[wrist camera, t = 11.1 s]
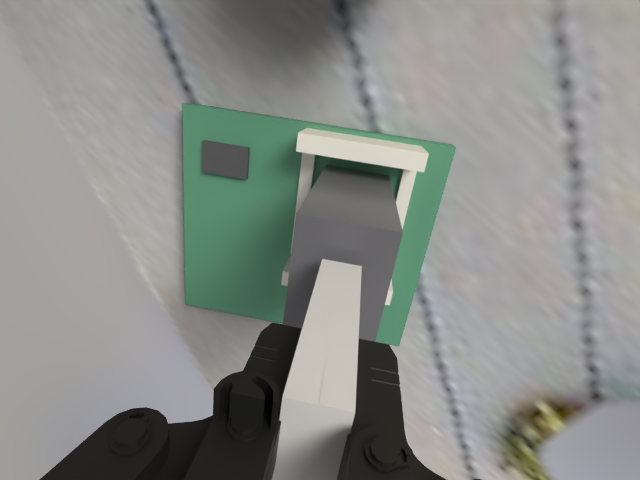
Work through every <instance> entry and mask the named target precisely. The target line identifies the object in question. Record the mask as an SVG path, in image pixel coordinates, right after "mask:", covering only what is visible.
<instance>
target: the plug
mask: <svg viewBox="0 0 640 480" xmlns="http://www.w3.org/2000/svg"><path fill="white" fill-rule="evenodd" d="M402 235H403V230H402V226H401V222H400V218H399V214H398V210H397V206H396V202H395V198H394V194H393V190H392V185H391V181H390V177H389V175H383V174H378V173H372V172H366V171H360V170H354V169H348V168H342V167H336V166H330V165H326V166H325V168H324V169H323V171H322V173H321V174H320V176H319V177H318V179H317V181H316V182H315V184H314V186H313V187H312V189H311V190H310V192H309V194H308V195H307V197H306V199H305V200H304V202H303V203H302V205H301V207H300V208H299V210H298V211H297V213H296V219H295V227H294V236H293V244H292V252H291V260H290V269H289V277H288V285H287V293H286V301H285V310H284V318H283V325H287V326H292V327H297V328H302V327H303V324H304V320H305V317H306V313H307V310H308V306H309V303H310V299H311V296H312V292H313V289H314V286H315V282H316V279H317V275H318V272H319V268H320V265H321V261H322V259H326V260H331V261H337V262H342V263H348V264H353V265H359V266H362V273H361V296H360V319H359V339H363V340H368V341H374V342H375V341H376V337H377V333H378V329H379V325H380V321H381V317H382V313H383V309H384V306H385V302H386V298H387V294H388V290H389V286H390V282H391V278H392V274H393V270H394V266H395V262H396V259H397V255H398V251H399V247H400V243H401V239H402Z"/></svg>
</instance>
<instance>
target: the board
mask: <svg viewBox="0 0 640 480" xmlns="http://www.w3.org/2000/svg"><path fill="white" fill-rule="evenodd" d="M182 118H183V183H184V249H185V304H187V305H192V306H197V307H202V308H207V309H212V310H217V311H222V312H227V313H232V314H237V315H242V316H247V317H252V318H257V319H262V320H268V321H273V322H278V323H283V318H284V310H285V301H286V293H287V285H288V277H289V269H290V260H291V252H292V244H293V236H294V227H295V219H296V213H297V211H298V210H299V208H300V207H301V205H302V203H303V202H304V200H305V199H306V197H307V195H308V194H309V192H310V190H311V189H312V187H313V186H314V184H315V182H316V181H317V179H318V177H319V176H320V174H321V173H322V171H323V169H324V168H325V166H326V165H330V166H336V167H342V168H348V169H354V170H360V171H366V172H372V173H378V174H383V175H389V177H390V181H391V185H392V190H393V194H394V198H395V202H396V206H397V210H398V214H399V218H400V222H401V226H402V230H403V235H402V239H401V243H400V247H399V251H398V255H397V259H396V262H395V266H394V270H393V274H392V278H391V282H390V286H389V290H388V294H387V298H386V302H385V306H384V309H383V313H382V317H381V321H380V325H379V329H378V333H377V337H376V341H375V342H379V343H384V344H389V345H394V346H399V344H400V341H401V337H402V334H403V330H404V327H405V323H406V320H407V316H408V313H409V309H410V306H411V302H412V299H413V295H414V292H415V288H416V285H417V281H418V278H419V274H420V271H421V267H422V264H423V260H424V257H425V253H426V250H427V246H428V243H429V240H430V236H431V233H432V229H433V226H434V222H435V219H436V215H437V212H438V208H439V205H440V201H441V198H442V194H443V191H444V187H445V184H446V180H447V177H448V173H449V170H450V166H451V163H452V159H453V156H454V152H455V149H456V147H455V146H453V145H451V144H445V143H439V142H433V141H426V140H420V139H414V138H407V137H401V136H395V135H388V134H382V133H376V132H370V131H363V130H357V129H351V128H344V127H338V126H332V125H325V124H319V123H313V122H306V121H300V120H294V119H288V118H281V117H275V116H269V115H262V114H256V113H250V112H243V111H237V110H231V109H225V108H218V107H212V106H206V105H199V104H193V103H185V104H182Z"/></svg>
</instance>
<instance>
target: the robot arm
mask: <svg viewBox="0 0 640 480" xmlns="http://www.w3.org/2000/svg"><path fill="white" fill-rule="evenodd" d="M361 273H362V266H359V265H353V264H348V263H342V262H337V261H331V260H326V259H322V261H321V265H320V268H319V272H318V275H317V279H316V282H315V286H314V289H313V292H312V296H311V299H310V303H309V306H308V310H307V313H306V317H305V320H304V324H303V327H302V328H297V327H292V326H287V325H282V324H277V323H271V324H270V325H269V326H268V327H266V328H265V329H264V330H263V331H262V332H261V333H260V335H259V337H258V340H257V342H256V344H255V347H254V348H253V350H252V353H251V355H250V357H249V359H248V361H247V364H246V366H245V368H244V370H243V371H241V372H237V373H233V374H230V375H229V376H227V377H225V378H224V379H222V380H221V381H220V382H219V383H218V385H217V386H216V387H215V388H214V402H213V416H211V417H208V418H206V419H203V420H199V421H194V422H184V423H172V424H168V423H167V419H166V417H164V415H162V414H161V413H160V412H159V411H157V410H153V409H150V408H134V409H130V410H127V411H124V412H122V413H119V414H117V415H116V416H114V417H113V418H111V419H110V420H108V421H107V422H105V423H104V424H103V425H102V426H101V427H99V428H98V429H97V430H96V431H95V432H94V433H93V434H91V435H90V436H89V437H88V438H87V439H86V440H85V441H83V442H82V443H81V444H80V445H79V446H78V447H77V448H75V449H74V450H73V451H72V452H71V453H70V454H69V455H67V456H66V457H65V458H64V459H63V460H62V461H61V462H60V463H58V464H57V465H56V466H55V467H54V468H53V469H51V470H50V471H49V472H48V473H47V474H46V475H45V476H43V477H42V478H41V479H40V480H446V479H444V478H443V477H441V476H439V475H437V474H435V473H434V472H432V471H431V470H429V469H428V468H426V467H425V466H424V465H423V464H422V463H421V462H420V461H419V460H418V459H417V458H416V457H415V455H414V454H413V451H412V449H411V448H410V447H409V445H408V443H407V441H406V436H405V431H404V421H403V412H402V402H401V392H400V387H399V384H400V383H399V375H398V364H397V357H396V356H395V354H394V352H393V351H392V349H391V348H390V346H389V344H384V343H379V342H374V341H368V340H363V339H359V319H360V296H361ZM474 480H480V479H474Z"/></svg>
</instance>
